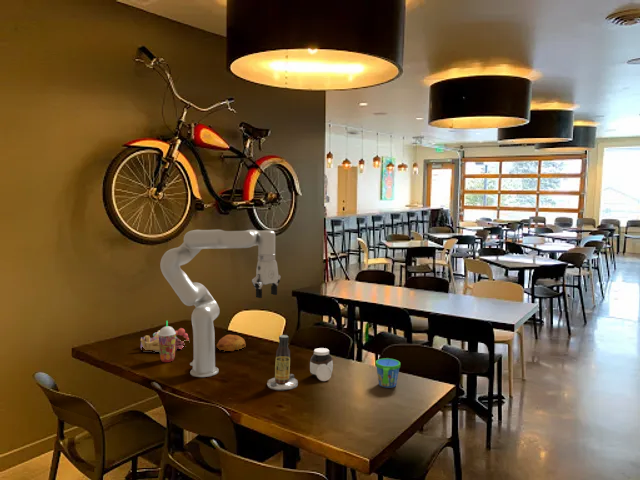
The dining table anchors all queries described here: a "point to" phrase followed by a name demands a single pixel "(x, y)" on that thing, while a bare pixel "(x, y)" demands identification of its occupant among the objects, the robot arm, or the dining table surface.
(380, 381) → the snack cup
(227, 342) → the bread bun
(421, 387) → the dining table surface
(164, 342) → the smoothie
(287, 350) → the sauce bottle
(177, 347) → the candy landscape model
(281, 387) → the base
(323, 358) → the spread jar
